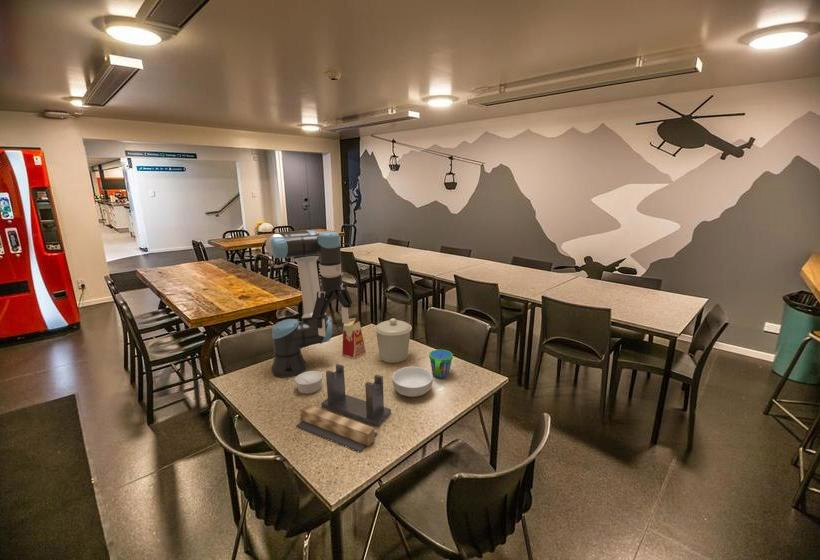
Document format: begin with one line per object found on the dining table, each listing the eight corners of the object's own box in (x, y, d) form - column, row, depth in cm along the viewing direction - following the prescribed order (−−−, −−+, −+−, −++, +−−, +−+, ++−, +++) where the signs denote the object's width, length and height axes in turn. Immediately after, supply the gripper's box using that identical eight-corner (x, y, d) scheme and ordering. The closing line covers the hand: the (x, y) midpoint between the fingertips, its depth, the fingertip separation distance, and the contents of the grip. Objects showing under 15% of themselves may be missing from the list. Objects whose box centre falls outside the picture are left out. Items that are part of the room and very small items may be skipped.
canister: (369, 364, 177) (368, 323, 171) (383, 348, 193) (382, 310, 188) (405, 369, 171) (405, 327, 166) (416, 353, 188) (416, 314, 183)
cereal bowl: (384, 390, 155) (384, 374, 153) (414, 376, 165) (414, 362, 163) (410, 408, 142) (410, 391, 140) (441, 392, 152) (441, 377, 151)
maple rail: (300, 419, 134) (299, 409, 133) (307, 414, 138) (306, 403, 136) (368, 446, 121) (368, 434, 120) (374, 439, 124) (374, 427, 123)
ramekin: (291, 394, 152) (290, 383, 151) (302, 380, 163) (301, 369, 161) (317, 396, 150) (316, 385, 149) (327, 382, 161) (326, 371, 160)
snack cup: (435, 365, 176) (435, 345, 173) (456, 369, 172) (457, 349, 169) (423, 380, 162) (423, 359, 159) (446, 385, 158) (446, 364, 155)
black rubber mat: (296, 427, 131) (296, 425, 131) (315, 412, 140) (315, 410, 140) (360, 452, 119) (360, 451, 118) (377, 434, 127) (377, 433, 127)
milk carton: (366, 352, 189) (364, 315, 184) (354, 359, 182) (352, 321, 177) (352, 348, 194) (350, 312, 189) (340, 355, 186) (338, 318, 181)
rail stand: (321, 407, 143) (318, 371, 139) (336, 395, 151) (334, 361, 147) (378, 427, 131) (376, 388, 127) (391, 413, 139) (390, 376, 135)
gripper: (315, 284, 121) (319, 343, 127) (360, 268, 143) (361, 320, 148) (298, 281, 125) (303, 339, 131) (344, 266, 146) (347, 316, 152)
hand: (334, 329), depth 139 cm, fingers open, 13 cm apart
